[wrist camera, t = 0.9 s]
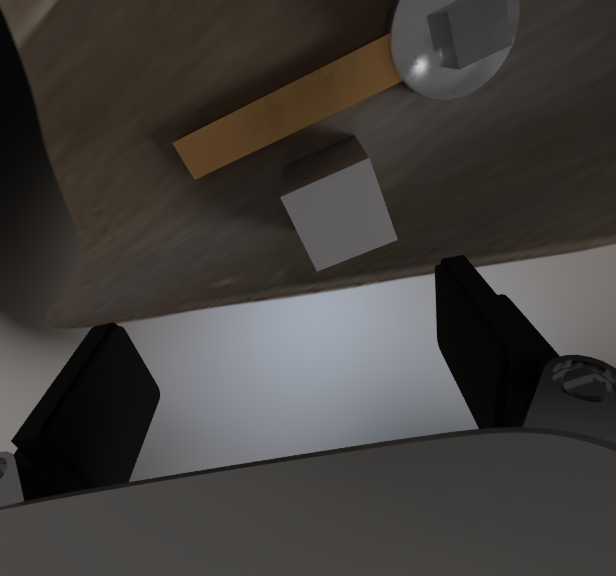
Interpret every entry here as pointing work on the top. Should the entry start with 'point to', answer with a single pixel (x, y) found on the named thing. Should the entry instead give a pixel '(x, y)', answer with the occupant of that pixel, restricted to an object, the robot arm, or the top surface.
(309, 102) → the hammer
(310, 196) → the white block
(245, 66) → the top surface
